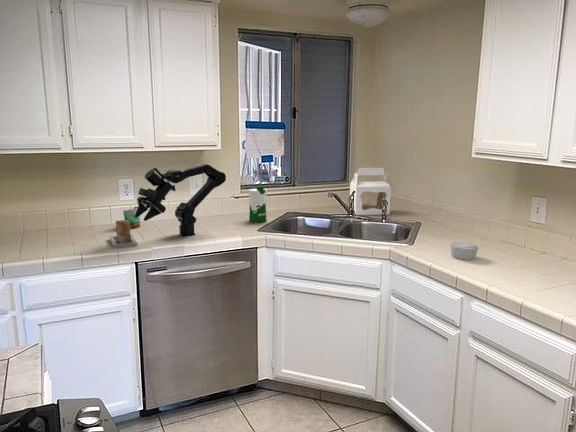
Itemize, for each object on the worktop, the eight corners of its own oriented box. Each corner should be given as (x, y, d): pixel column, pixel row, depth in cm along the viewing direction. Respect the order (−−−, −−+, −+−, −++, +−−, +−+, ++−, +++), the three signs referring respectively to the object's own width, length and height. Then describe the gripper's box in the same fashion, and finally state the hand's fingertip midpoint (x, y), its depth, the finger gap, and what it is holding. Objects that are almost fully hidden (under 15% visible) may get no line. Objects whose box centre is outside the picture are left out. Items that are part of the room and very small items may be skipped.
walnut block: (126, 243, 224) (125, 219, 222) (130, 245, 220) (129, 221, 218) (117, 244, 221) (115, 221, 219) (121, 246, 217) (119, 222, 215)
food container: (135, 230, 250) (134, 211, 248) (124, 229, 251) (122, 210, 250) (146, 225, 262) (145, 206, 260) (136, 224, 263) (135, 206, 261)
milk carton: (256, 223, 269) (256, 187, 265) (246, 220, 275) (246, 185, 272) (268, 221, 275) (268, 186, 271) (258, 218, 281) (258, 184, 277)
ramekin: (471, 262, 197) (472, 250, 196) (444, 257, 205) (445, 245, 204) (481, 257, 206) (482, 245, 205) (455, 252, 213) (456, 240, 212)
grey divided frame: (131, 237, 234) (131, 231, 234) (137, 246, 219) (136, 239, 218) (109, 239, 230) (109, 233, 230) (113, 248, 215) (113, 241, 214)
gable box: (382, 210, 311) (384, 166, 306) (390, 214, 298) (392, 168, 293) (348, 211, 307) (350, 166, 302) (355, 215, 295) (356, 168, 289)
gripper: (139, 179, 230) (118, 205, 226) (158, 183, 217) (136, 211, 212) (155, 194, 237) (135, 219, 232) (174, 199, 224) (153, 226, 219)
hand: (139, 218), depth 224 cm, fingers open, 9 cm apart
